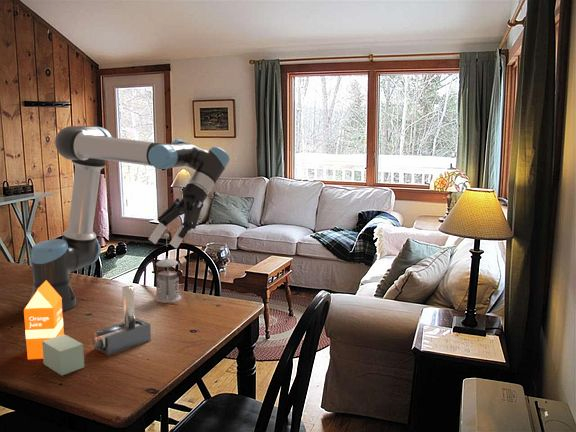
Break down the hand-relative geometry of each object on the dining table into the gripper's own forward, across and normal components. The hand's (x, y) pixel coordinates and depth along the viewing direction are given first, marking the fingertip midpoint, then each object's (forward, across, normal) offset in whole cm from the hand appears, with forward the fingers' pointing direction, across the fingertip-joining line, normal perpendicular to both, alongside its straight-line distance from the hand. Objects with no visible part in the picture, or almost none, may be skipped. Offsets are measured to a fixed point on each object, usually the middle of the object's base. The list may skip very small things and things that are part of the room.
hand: (162, 243), depth 157 cm
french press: (+10, +28, -29) cm, 41 cm away
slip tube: (+31, -1, -5) cm, 32 cm away
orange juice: (+43, +9, +7) cm, 44 cm away
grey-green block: (+43, -3, +6) cm, 43 cm away
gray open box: (+31, 0, -7) cm, 32 cm away
